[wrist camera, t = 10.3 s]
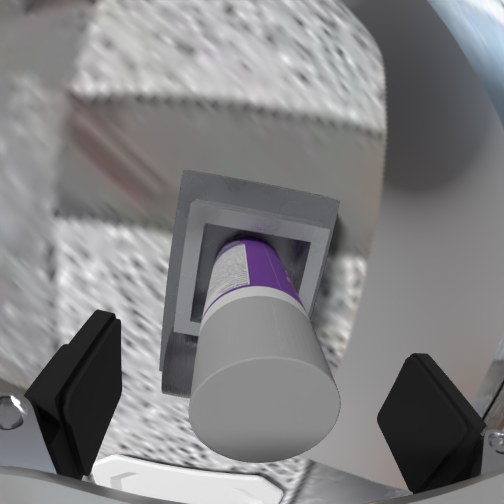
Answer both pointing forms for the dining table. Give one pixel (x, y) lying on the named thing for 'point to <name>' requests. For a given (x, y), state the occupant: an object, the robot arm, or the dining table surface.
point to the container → (258, 362)
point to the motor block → (216, 235)
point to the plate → (183, 482)
